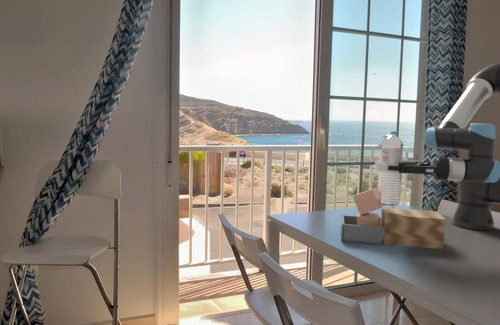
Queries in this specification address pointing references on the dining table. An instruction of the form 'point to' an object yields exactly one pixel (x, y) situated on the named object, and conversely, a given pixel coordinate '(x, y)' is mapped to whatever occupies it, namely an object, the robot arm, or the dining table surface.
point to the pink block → (368, 219)
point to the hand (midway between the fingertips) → (376, 165)
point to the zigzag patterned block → (413, 228)
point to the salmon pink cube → (368, 201)
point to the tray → (360, 232)
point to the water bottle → (391, 180)
